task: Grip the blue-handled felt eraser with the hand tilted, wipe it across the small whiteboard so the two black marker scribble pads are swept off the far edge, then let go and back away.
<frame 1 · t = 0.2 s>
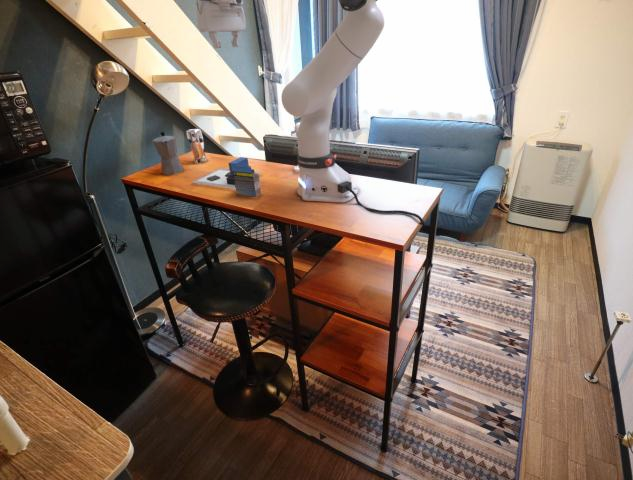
hand: (226, 47, 116), 48 cm above the table, tool pointing down, fingers open, 8 cm apart
whiteboard: (227, 179, 144), on the table
scribble a: (231, 175, 145), point 1 cm above the table, touching whiteboard
eraser: (241, 179, 140), point 1 cm above the table, touching whiteboard
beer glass: (200, 162, 167), on the table
coffeepot: (173, 171, 157), on the table
joystick: (306, 170, 148), on the table
tape cartridge: (249, 196, 128), on the table
scribble b: (213, 178, 142), point 1 cm above the table, touching whiteboard
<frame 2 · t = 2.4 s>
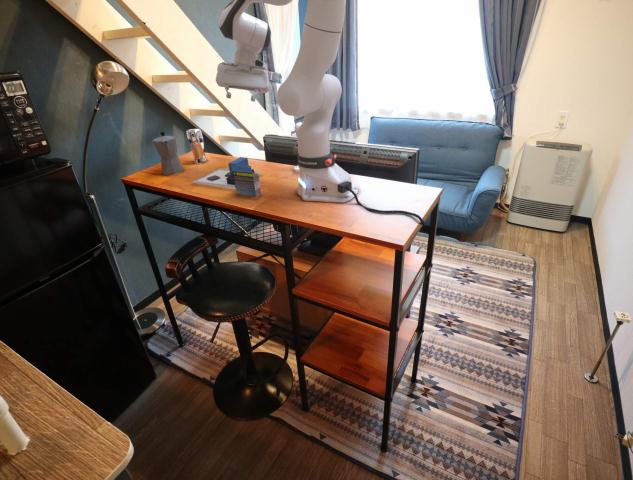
hand: (240, 99, 133), 30 cm above the table, tool tilted 35°, fingers open, 8 cm apart
nothing on the table moved.
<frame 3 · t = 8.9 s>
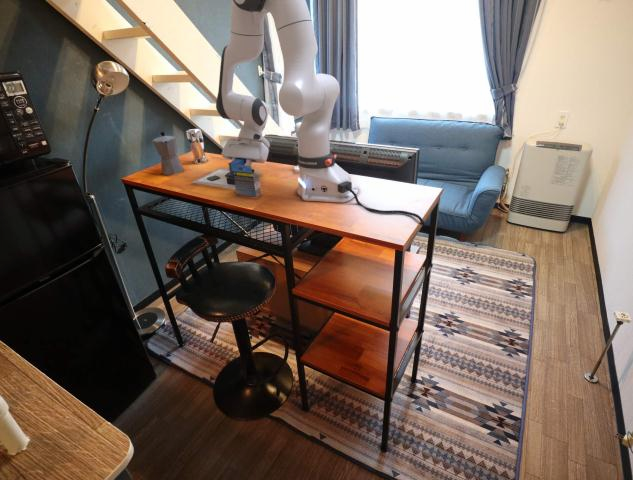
hand: (238, 170, 137), 5 cm above the table, tool tilted 45°, fingers closed on eraser, 3 cm apart
eraser: (241, 179, 140), point 1 cm above the table, touching gripper, whiteboard
everything else where it was.
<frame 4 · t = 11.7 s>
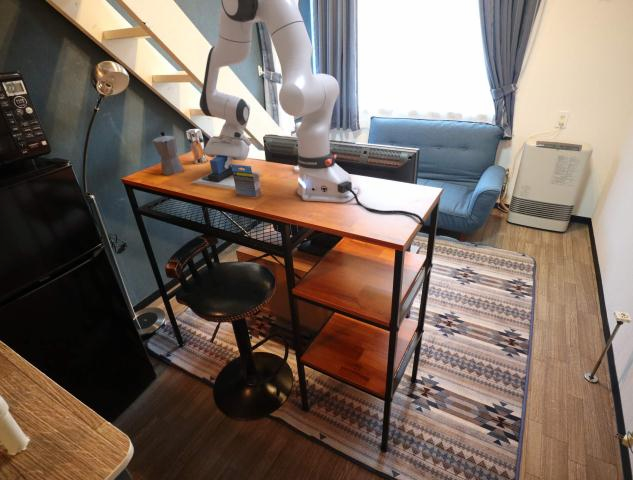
hand: (220, 167, 141), 5 cm above the table, tool tilted 45°, fingers closed on eraser, 3 cm apart
scribble a: (220, 173, 148), point 1 cm above the table
eraser: (223, 176, 144), point 1 cm above the table, touching gripper
scribble b: (208, 178, 143), point 1 cm above the table, touching whiteboard
everything else where it was.
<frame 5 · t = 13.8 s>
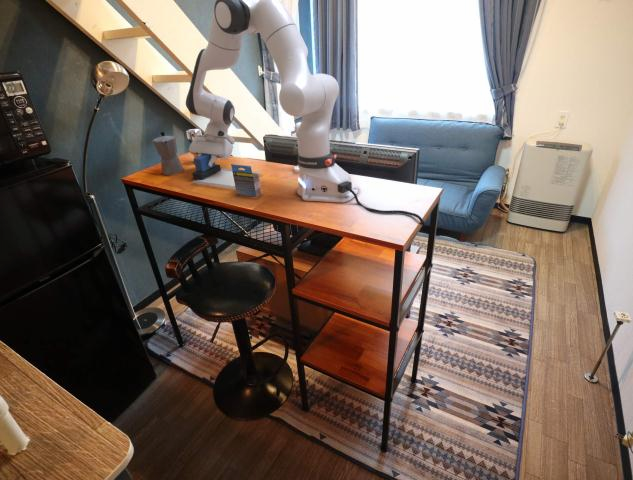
hand: (204, 165, 144), 5 cm above the table, tool tilted 45°, fingers closed on eraser, 3 cm apart
scribble a: (208, 173, 152), on the table
eraser: (207, 174, 147), point 1 cm above the table, touching gripper
scribble b: (196, 179, 146), on the table
everything else where it was.
when the fingers open (5 cm above the table, at t = 16.1 s): eraser stays where it is, resting on scribble a, scribble b.
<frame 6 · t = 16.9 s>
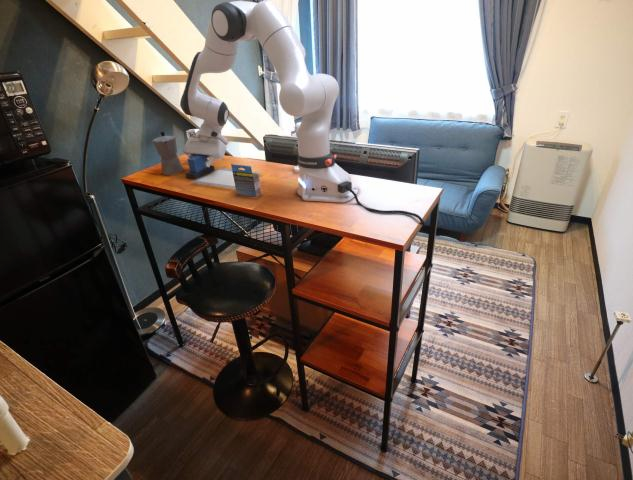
hand: (198, 165, 146), 5 cm above the table, tool tilted 45°, fingers open, 8 cm apart
scribble a: (208, 173, 152), on the table, touching eraser
eraser: (201, 175, 149), point 1 cm above the table, touching scribble a, scribble b
scribble b: (196, 179, 146), on the table, touching eraser
everything else where it was.
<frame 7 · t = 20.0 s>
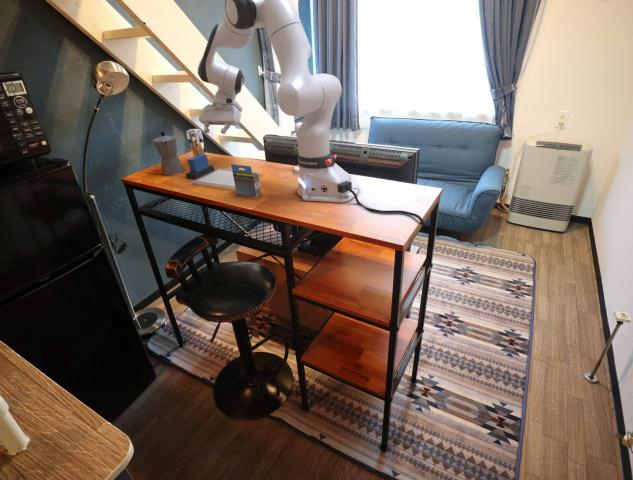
hand: (214, 132, 150), 16 cm above the table, tool tilted 45°, fingers open, 8 cm apart
nothing on the table moved.
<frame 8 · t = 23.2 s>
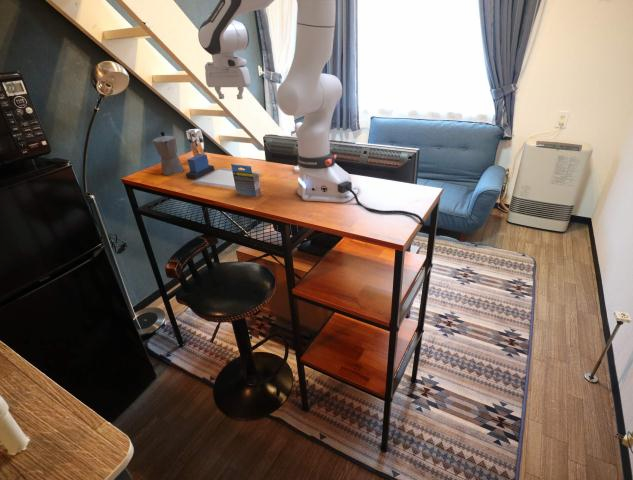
hand: (230, 99, 142), 29 cm above the table, tool pointing down, fingers open, 8 cm apart
nothing on the table moved.
at the end: scribble a on the table; scribble b on the table; the gripper is holding nothing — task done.
